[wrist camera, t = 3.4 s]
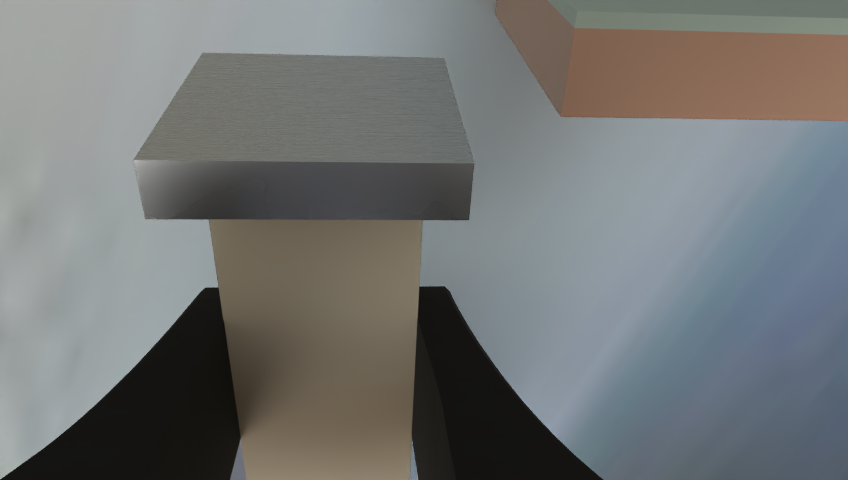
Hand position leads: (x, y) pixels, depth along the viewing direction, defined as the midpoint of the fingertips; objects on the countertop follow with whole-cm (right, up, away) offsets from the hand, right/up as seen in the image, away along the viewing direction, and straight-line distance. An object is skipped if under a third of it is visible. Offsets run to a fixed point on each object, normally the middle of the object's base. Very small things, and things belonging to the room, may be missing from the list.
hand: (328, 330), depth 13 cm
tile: (+10, +9, +8) cm, 15 cm away
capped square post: (0, 0, +2) cm, 2 cm away
